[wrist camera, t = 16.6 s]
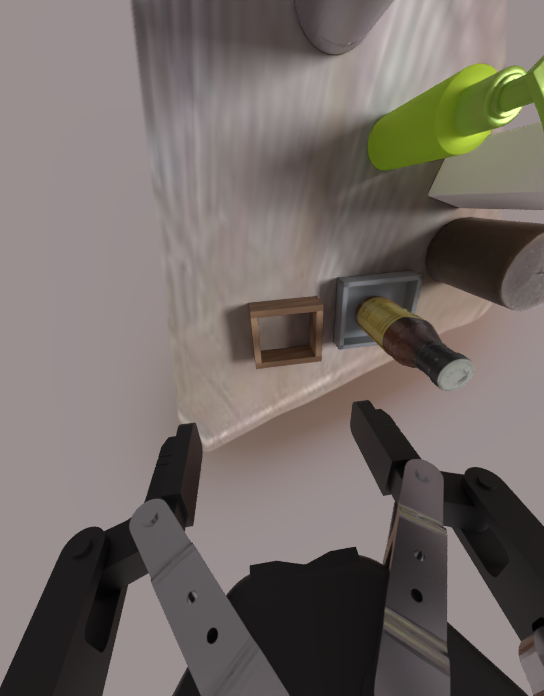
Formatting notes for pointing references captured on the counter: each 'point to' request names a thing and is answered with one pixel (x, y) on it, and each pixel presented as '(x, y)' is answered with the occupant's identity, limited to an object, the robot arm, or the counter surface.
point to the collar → (293, 353)
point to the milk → (496, 173)
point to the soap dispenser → (455, 115)
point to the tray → (358, 288)
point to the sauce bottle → (413, 342)
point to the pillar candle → (491, 260)
